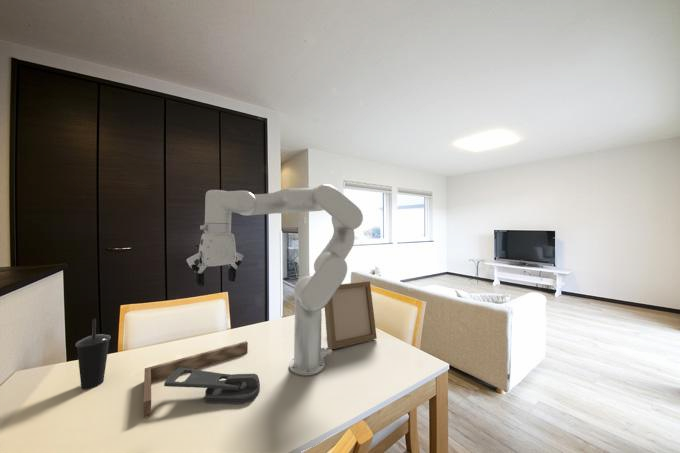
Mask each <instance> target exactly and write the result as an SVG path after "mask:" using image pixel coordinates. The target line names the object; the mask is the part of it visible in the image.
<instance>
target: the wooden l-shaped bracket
mask: <svg viewBox="0 0 680 453" xmlns="http://www.w3.org/2000/svg"><path fill="white" fill-rule="evenodd" d="M248 345H249V344H248V341H242V342H238V343H234V344H231V345H227V346H224V347H218V348H216V349H213V350H209V351H205V352H201V353H197V354H193V355H190V356H186V357H183V358H178V359H175V360H170V361H167V362H164V363H160V364H156V365H152V366H149V367H145V368H144V382H143V384H144V386H143V387H144V388H143V418H144V419H145V418H147V417H150V416H152V382H154V381H157V380H162V379H165V378H168V377H169V376H170V375H171V374H172V373H173V372H174V371H176V370H177V369H179V368H180V367H181V368H188V369H195V370H196V369H198V368H201V367H205V366H208V365H211V364H214V363H218V362H221V361H225V360H228V359H231V358H235V357H239V356H241V355H245V354H248V352H249V350H248V348H249V347H248Z"/></svg>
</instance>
